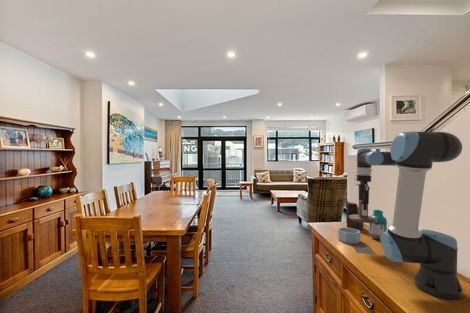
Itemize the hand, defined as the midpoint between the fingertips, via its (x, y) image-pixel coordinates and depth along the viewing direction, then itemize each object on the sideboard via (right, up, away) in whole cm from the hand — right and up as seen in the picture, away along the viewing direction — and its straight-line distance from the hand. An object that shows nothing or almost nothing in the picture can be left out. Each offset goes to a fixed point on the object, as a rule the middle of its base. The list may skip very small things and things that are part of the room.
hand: (363, 214), depth 142 cm
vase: (+20, -21, +19) cm, 35 cm away
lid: (0, -3, 0) cm, 3 cm away
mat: (0, -21, -1) cm, 21 cm away
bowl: (-2, -21, +14) cm, 25 cm away
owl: (+17, -22, +44) cm, 52 cm away
